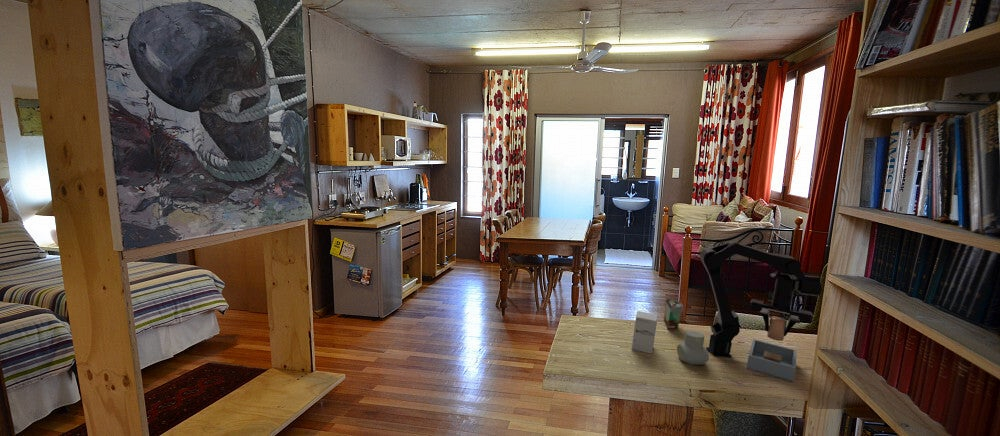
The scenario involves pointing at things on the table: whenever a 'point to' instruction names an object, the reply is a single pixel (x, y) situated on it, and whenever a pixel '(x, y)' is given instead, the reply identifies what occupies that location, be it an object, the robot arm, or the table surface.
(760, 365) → the tote
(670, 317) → the food container
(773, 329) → the terracotta capsule
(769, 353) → the walnut cube
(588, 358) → the table surface
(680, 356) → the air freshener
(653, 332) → the supplement box
